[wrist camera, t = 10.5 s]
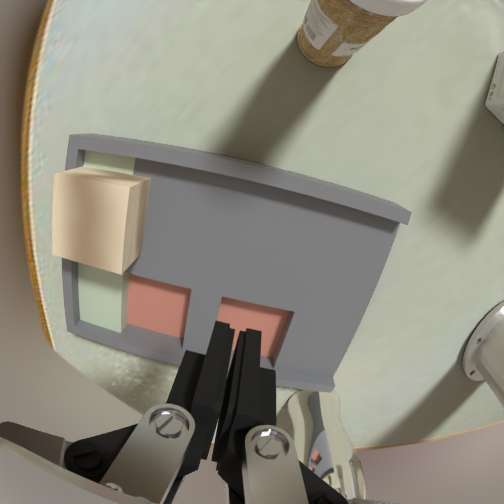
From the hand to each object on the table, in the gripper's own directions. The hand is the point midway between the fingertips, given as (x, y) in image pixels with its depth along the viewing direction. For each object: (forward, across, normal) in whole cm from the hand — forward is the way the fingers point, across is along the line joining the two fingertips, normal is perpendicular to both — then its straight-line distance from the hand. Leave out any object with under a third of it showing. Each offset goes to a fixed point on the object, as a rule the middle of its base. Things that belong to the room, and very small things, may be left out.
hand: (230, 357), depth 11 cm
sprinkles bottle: (+15, -2, -17) cm, 23 cm away
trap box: (+15, +2, +3) cm, 15 cm away
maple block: (+12, +11, 0) cm, 17 cm away
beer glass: (+16, -11, +17) cm, 26 cm away
